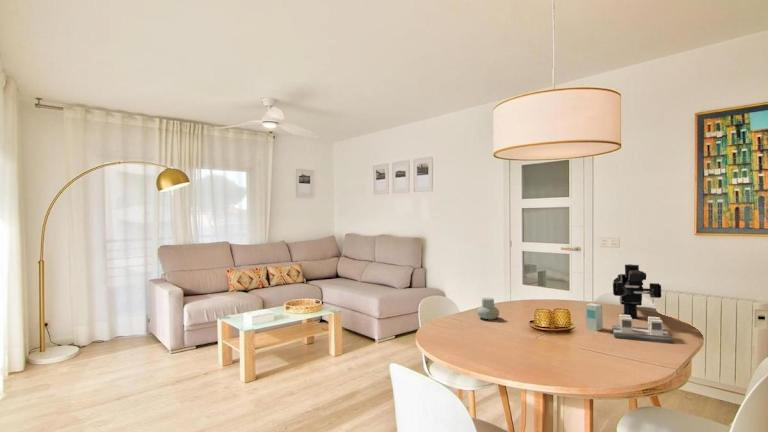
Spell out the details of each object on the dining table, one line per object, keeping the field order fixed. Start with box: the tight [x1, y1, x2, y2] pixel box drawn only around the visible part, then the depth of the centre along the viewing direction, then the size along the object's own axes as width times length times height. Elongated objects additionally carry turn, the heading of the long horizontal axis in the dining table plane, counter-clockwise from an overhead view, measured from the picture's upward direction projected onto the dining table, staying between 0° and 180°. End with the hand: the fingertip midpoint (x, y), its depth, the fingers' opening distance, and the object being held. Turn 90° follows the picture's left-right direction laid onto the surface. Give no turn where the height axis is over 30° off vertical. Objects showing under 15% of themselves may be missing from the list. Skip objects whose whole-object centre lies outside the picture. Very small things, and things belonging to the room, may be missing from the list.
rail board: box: [611, 313, 674, 344], centre depth 167 cm, size 14×20×8 cm
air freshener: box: [476, 297, 500, 321], centre depth 201 cm, size 11×8×10 cm
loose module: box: [585, 302, 604, 332], centre depth 179 cm, size 6×4×11 cm
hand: (640, 293), depth 175 cm, fingers open, 9 cm apart
